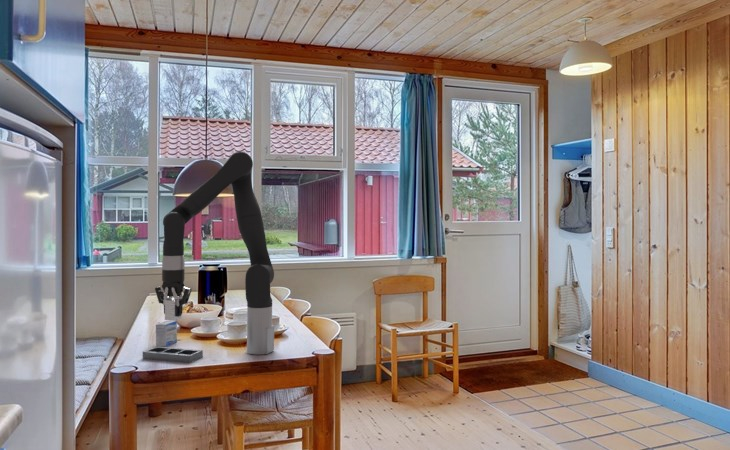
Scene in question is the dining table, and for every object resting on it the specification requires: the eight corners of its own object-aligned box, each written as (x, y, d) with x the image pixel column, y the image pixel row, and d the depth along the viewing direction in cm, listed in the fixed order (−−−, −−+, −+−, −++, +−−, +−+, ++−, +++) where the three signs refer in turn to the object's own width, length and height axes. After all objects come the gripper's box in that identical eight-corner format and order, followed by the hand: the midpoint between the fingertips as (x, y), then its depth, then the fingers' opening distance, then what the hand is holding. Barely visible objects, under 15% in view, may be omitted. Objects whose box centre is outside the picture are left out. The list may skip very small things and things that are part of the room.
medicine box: (165, 347, 198) (165, 324, 198) (155, 346, 199) (155, 324, 199) (177, 342, 206) (177, 320, 206) (167, 341, 207) (167, 320, 207)
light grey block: (181, 318, 185) (181, 299, 185) (174, 320, 181) (174, 300, 181) (171, 317, 186) (171, 298, 186) (164, 319, 182) (164, 300, 182)
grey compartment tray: (202, 356, 185) (202, 350, 185) (189, 362, 177) (189, 356, 177) (156, 352, 190) (156, 346, 190) (142, 358, 182) (142, 351, 182)
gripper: (197, 267, 185) (196, 315, 185) (162, 266, 189) (162, 312, 189) (184, 269, 178) (184, 319, 178) (149, 268, 181) (149, 316, 182)
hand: (173, 315), depth 184 cm, fingers closed on light grey block, 4 cm apart
